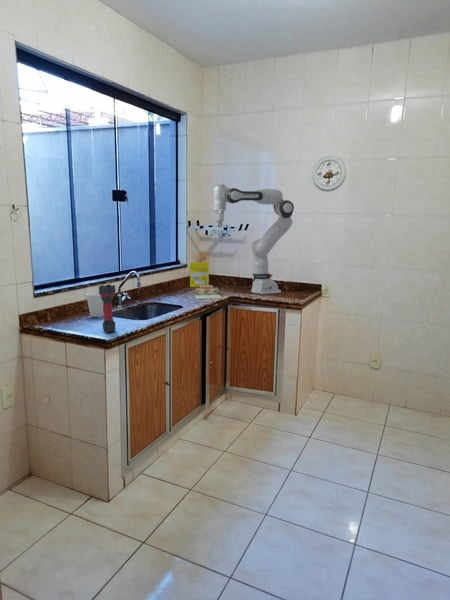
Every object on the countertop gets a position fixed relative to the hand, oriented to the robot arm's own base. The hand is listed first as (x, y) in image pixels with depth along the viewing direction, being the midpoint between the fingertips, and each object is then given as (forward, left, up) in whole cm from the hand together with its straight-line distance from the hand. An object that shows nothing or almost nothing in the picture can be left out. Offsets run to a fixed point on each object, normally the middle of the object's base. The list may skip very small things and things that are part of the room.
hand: (219, 227), depth 298 cm
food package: (+13, -30, -48) cm, 58 cm away
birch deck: (+10, +4, -48) cm, 49 cm away
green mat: (+10, +16, -48) cm, 52 cm away
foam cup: (+78, +66, -48) cm, 113 cm away
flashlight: (+66, +101, -48) cm, 130 cm away
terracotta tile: (+10, +3, -44) cm, 45 cm away
